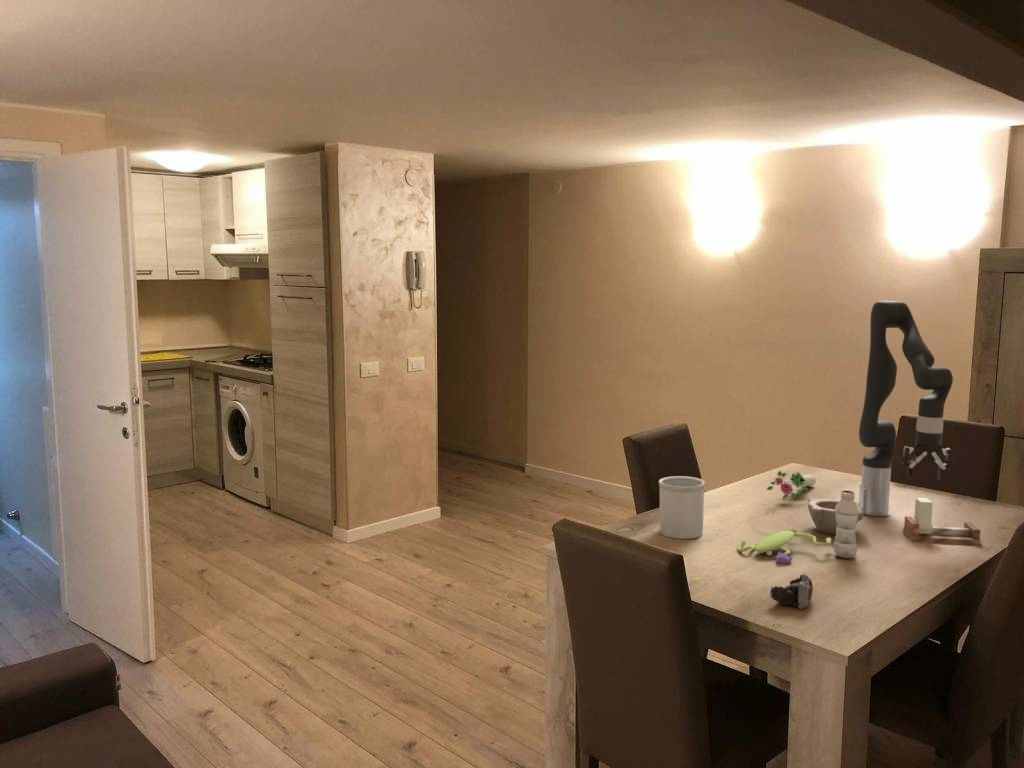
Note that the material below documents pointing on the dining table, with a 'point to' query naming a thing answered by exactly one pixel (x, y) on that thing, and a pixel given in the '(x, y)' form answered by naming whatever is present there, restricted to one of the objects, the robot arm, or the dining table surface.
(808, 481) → the flower vase
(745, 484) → the dining table surface
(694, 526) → the utensil holder
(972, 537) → the track
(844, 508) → the plastic bottle
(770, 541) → the figurine
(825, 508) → the mortar
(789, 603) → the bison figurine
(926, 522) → the slider
